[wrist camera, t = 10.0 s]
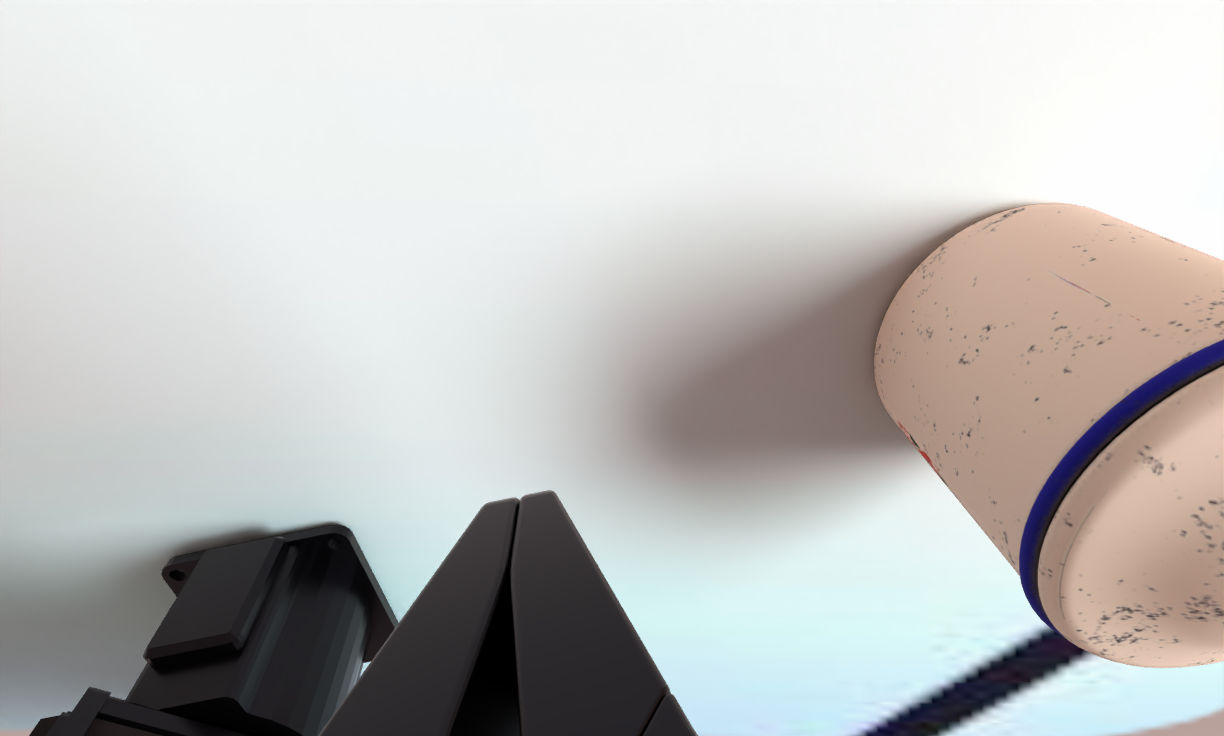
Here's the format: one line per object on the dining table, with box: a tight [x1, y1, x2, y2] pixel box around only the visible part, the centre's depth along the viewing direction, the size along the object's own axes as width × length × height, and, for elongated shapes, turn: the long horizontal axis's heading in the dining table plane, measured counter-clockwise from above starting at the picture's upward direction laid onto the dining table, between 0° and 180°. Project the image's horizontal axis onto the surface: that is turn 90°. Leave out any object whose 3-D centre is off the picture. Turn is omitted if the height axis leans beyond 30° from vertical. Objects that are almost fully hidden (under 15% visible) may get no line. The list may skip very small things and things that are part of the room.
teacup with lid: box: [874, 203, 1224, 668], centre depth 17 cm, size 12×9×12 cm
